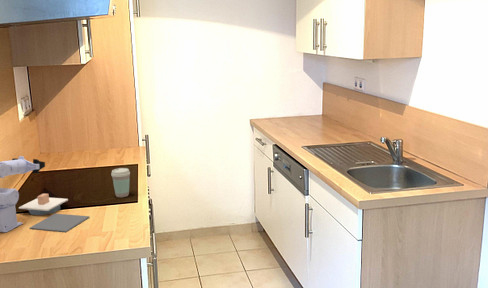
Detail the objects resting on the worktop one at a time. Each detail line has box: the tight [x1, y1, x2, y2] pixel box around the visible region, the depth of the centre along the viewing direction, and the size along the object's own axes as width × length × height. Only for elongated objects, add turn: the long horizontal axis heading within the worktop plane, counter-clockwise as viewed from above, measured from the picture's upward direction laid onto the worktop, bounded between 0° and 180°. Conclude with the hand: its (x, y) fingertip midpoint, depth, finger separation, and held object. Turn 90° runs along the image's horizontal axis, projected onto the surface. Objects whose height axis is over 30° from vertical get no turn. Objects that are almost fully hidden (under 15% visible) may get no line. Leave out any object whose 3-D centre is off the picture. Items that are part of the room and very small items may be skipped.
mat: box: [29, 212, 90, 233], centre depth 199 cm, size 16×16×1 cm
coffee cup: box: [110, 167, 131, 198], centre depth 231 cm, size 8×9×12 cm
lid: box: [18, 193, 69, 211], centre depth 213 cm, size 14×14×4 cm
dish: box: [28, 204, 61, 216], centre depth 214 cm, size 12×12×2 cm
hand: (36, 164), depth 211 cm, fingers open, 7 cm apart
